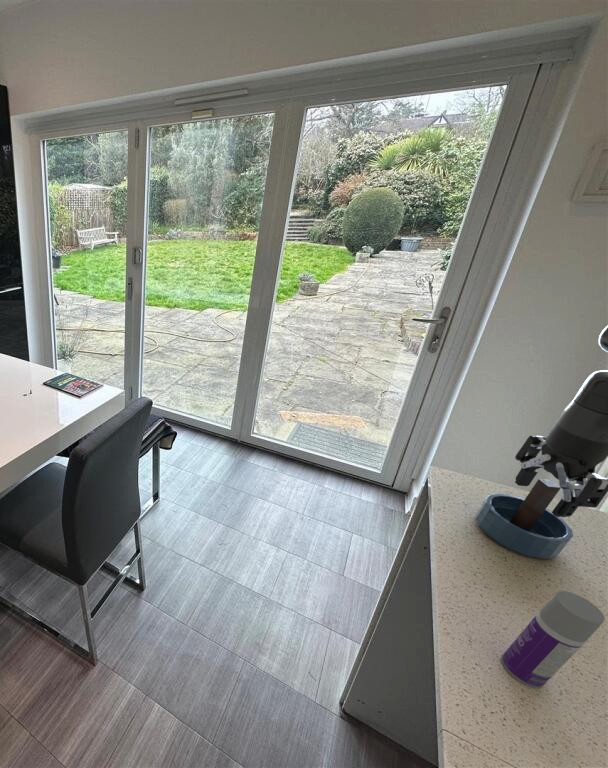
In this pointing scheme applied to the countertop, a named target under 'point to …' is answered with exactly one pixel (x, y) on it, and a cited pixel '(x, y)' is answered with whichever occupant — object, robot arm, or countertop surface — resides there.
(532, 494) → the stirring stick
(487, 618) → the countertop surface
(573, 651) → the container
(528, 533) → the bowl
